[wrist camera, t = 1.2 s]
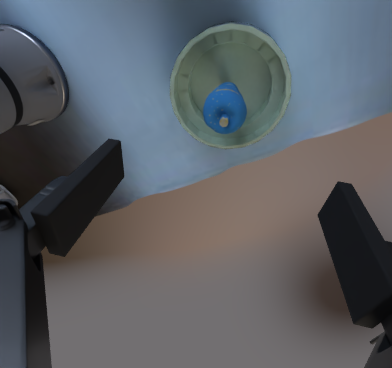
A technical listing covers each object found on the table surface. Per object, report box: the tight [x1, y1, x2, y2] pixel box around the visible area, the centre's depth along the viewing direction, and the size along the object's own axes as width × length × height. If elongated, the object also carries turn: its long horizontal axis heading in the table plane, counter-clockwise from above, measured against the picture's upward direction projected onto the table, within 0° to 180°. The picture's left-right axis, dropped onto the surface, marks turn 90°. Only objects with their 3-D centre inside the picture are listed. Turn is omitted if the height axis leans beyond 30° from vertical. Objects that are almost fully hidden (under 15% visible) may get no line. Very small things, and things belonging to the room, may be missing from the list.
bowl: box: [170, 21, 291, 149], centre depth 34 cm, size 16×16×6 cm
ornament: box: [203, 82, 247, 134], centre depth 30 cm, size 5×5×15 cm
